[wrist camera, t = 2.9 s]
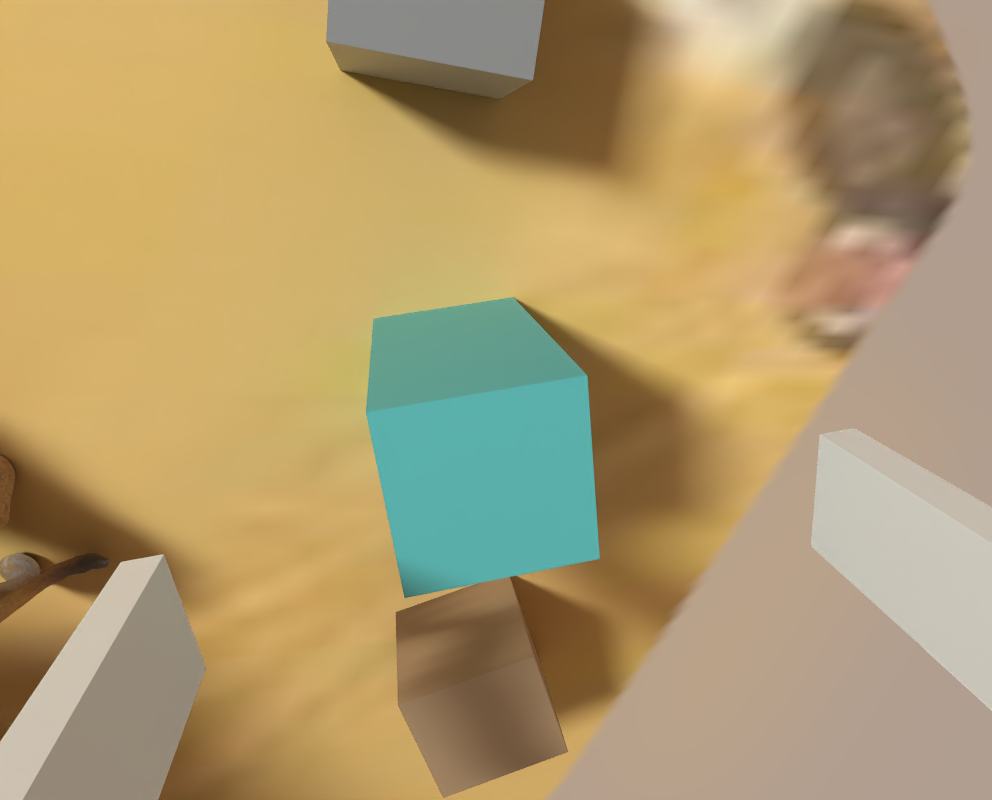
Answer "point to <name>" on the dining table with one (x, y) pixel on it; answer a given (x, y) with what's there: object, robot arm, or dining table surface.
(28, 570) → the lion figurine
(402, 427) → the teal block
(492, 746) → the walnut block
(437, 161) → the dining table surface
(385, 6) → the grey block
